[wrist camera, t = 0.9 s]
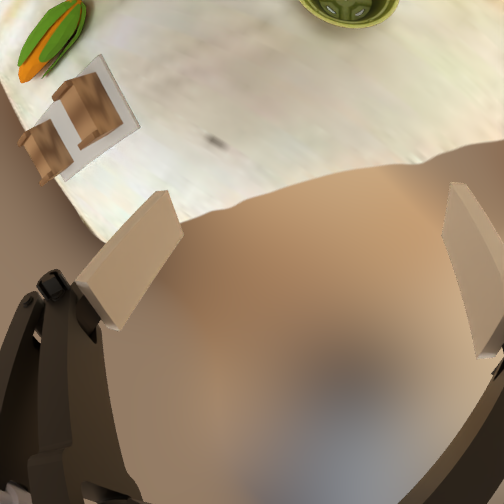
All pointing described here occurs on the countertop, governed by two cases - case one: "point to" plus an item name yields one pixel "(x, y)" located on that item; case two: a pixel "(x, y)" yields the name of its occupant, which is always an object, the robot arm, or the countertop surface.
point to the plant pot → (351, 11)
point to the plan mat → (69, 131)
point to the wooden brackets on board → (82, 117)
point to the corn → (51, 37)
